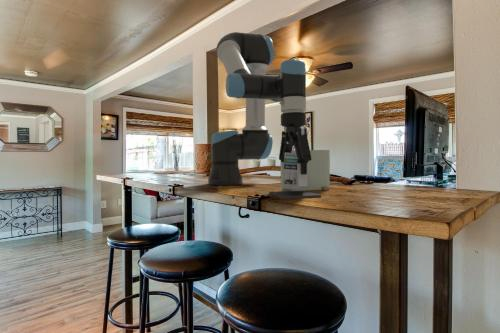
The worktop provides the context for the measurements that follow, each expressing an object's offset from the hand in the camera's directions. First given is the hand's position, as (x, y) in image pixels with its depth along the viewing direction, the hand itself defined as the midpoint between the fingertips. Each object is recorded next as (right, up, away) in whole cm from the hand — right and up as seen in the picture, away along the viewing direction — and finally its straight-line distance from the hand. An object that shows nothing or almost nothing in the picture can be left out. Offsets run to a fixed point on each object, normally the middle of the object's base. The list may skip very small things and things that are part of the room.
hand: (293, 184), depth 89 cm
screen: (+6, -3, +13) cm, 15 cm away
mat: (0, -3, 0) cm, 3 cm away
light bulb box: (0, -2, 0) cm, 2 cm away
